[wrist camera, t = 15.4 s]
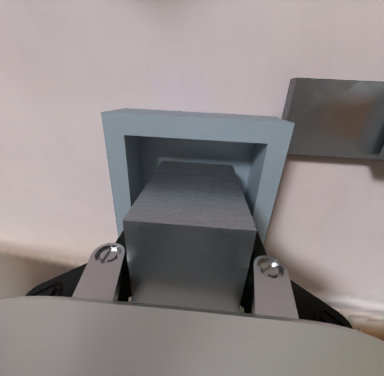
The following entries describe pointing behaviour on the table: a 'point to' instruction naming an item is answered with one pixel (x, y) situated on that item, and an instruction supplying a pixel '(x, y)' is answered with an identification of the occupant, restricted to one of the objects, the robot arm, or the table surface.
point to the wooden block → (381, 153)
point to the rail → (335, 117)
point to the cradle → (196, 152)
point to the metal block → (190, 238)
